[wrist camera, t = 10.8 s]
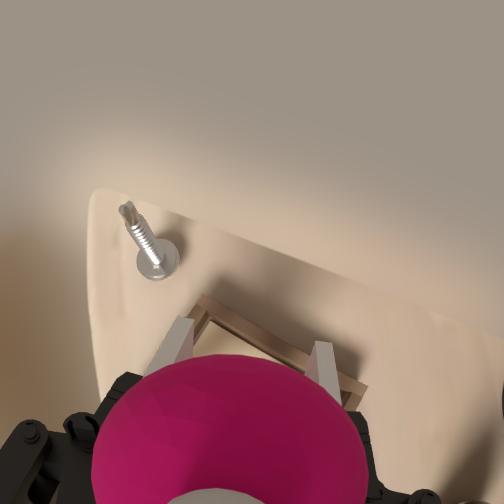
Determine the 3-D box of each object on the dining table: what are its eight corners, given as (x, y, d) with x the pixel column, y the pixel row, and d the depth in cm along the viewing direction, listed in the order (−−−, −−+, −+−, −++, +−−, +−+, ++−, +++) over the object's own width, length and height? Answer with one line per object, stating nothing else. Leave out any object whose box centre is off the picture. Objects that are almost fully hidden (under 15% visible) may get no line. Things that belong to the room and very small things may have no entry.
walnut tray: (356, 386, 30) (368, 386, 27) (286, 499, 25) (291, 510, 22) (207, 302, 33) (203, 293, 30) (135, 411, 28) (123, 413, 25)
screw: (136, 280, 34) (150, 242, 36) (175, 290, 34) (187, 251, 36) (88, 226, 22) (111, 176, 24) (139, 237, 22) (162, 184, 24)
